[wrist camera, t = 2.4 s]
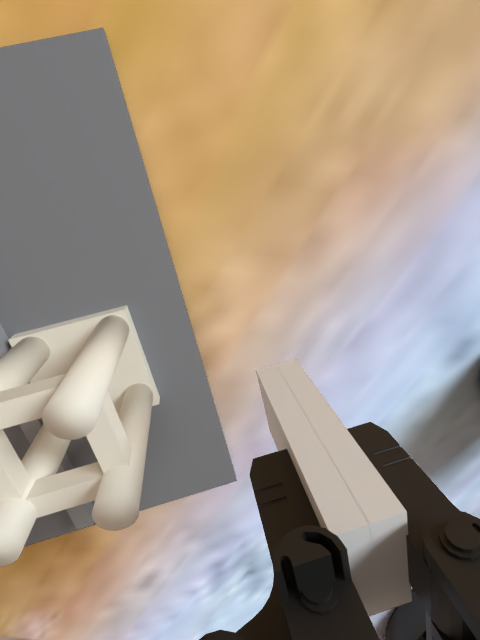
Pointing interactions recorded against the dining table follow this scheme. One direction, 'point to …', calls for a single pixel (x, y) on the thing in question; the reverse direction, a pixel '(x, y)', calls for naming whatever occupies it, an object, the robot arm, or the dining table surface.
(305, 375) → the robot arm
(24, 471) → the stool
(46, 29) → the dining table surface
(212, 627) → the dining table surface
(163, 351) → the board
